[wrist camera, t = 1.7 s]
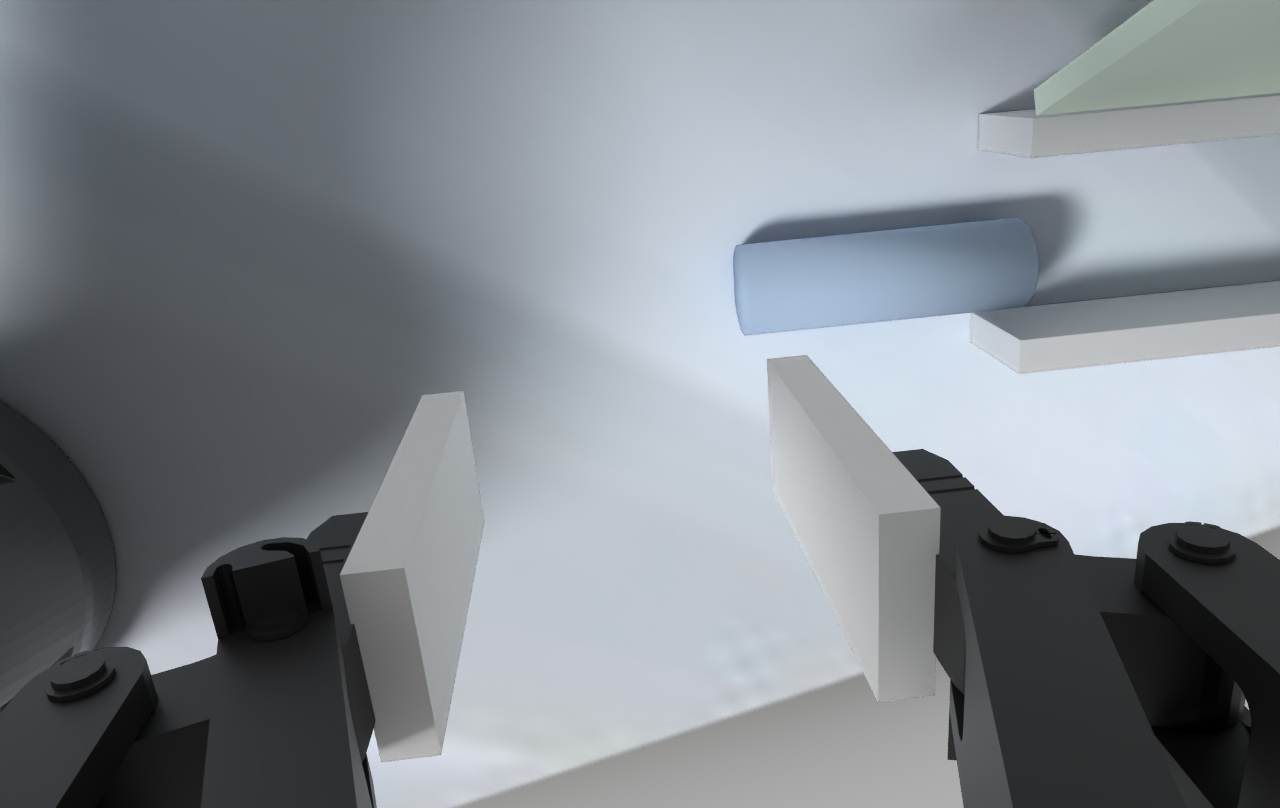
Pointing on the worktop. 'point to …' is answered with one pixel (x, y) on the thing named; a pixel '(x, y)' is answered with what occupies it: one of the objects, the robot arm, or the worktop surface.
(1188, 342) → the white u-shaped channel
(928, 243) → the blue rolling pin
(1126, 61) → the cover
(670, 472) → the worktop surface
